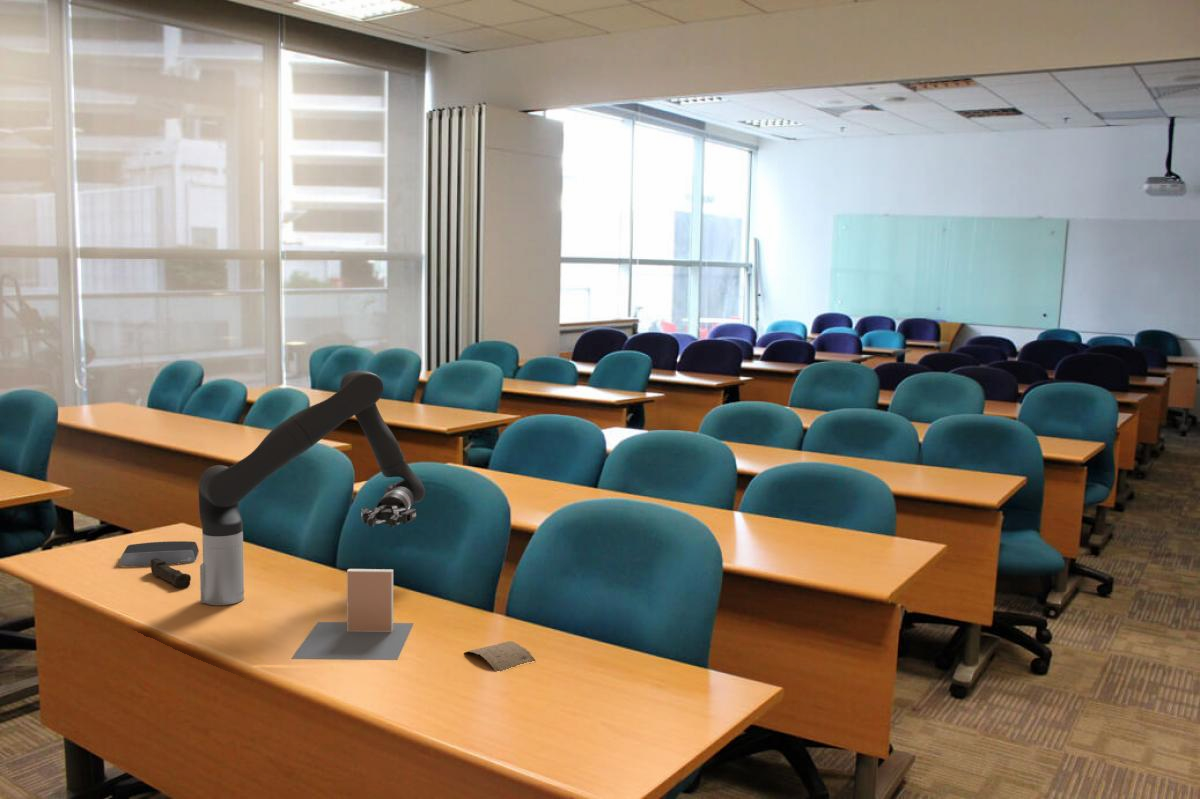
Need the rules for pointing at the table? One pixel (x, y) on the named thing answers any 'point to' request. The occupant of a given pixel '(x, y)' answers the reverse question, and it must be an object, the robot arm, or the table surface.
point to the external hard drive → (159, 553)
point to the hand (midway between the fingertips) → (381, 523)
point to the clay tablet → (504, 655)
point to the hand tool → (169, 574)
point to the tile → (370, 600)
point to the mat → (352, 643)
